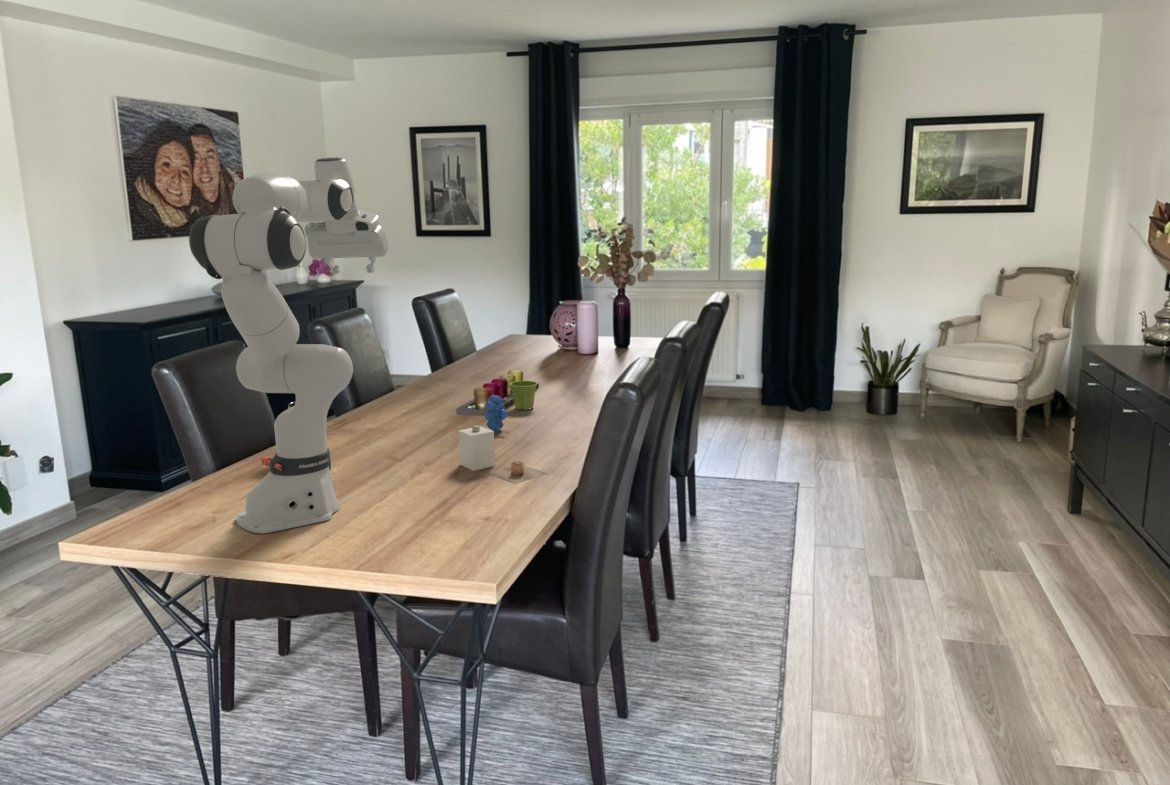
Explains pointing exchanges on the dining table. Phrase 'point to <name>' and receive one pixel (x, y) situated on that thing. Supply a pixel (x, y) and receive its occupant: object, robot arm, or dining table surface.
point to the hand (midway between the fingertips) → (353, 272)
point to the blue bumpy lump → (495, 413)
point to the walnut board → (527, 475)
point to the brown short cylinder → (517, 468)
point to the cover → (476, 448)
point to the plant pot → (523, 393)
